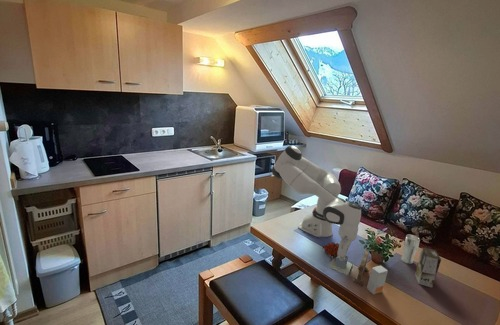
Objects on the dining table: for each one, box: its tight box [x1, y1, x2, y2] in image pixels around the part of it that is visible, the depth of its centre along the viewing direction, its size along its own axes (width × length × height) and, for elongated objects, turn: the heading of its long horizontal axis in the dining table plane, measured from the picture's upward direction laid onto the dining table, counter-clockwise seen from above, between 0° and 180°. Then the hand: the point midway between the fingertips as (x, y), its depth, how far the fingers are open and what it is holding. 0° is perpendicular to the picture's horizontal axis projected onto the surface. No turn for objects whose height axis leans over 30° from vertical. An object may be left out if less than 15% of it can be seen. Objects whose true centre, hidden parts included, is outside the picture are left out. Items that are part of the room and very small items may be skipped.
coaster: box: [328, 256, 353, 276], centre depth 142 cm, size 10×10×1 cm
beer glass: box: [400, 234, 421, 265], centre depth 150 cm, size 7×7×15 cm
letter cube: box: [335, 255, 349, 269], centre depth 141 cm, size 5×5×5 cm
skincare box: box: [366, 265, 389, 295], centre depth 125 cm, size 6×4×12 cm
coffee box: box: [414, 247, 442, 288], centre depth 134 cm, size 9×6×16 cm
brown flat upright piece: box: [353, 248, 370, 287], centre depth 134 cm, size 16×4×11 cm, turn 148°
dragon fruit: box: [322, 242, 340, 258], centre depth 149 cm, size 8×8×12 cm
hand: (343, 255), depth 140 cm, fingers open, 8 cm apart
